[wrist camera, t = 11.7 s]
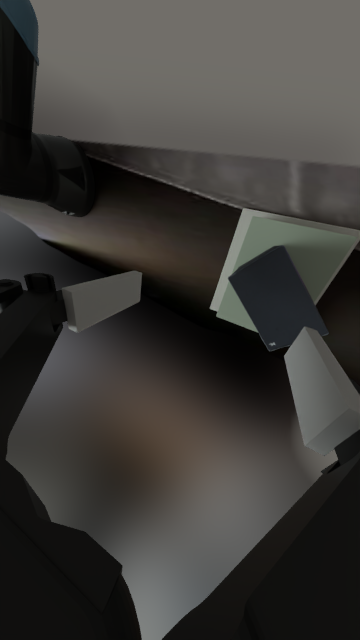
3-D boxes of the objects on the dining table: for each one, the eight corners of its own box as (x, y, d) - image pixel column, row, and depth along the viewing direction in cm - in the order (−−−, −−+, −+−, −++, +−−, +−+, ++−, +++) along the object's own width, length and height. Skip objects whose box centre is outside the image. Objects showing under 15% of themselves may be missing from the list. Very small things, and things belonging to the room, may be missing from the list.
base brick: (222, 306, 37) (216, 316, 32) (254, 220, 29) (252, 215, 24) (282, 328, 34) (286, 343, 29) (339, 238, 26) (357, 237, 21)
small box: (309, 304, 25) (334, 335, 17) (265, 321, 29) (267, 354, 20) (277, 242, 24) (286, 241, 15) (235, 268, 28) (224, 279, 19)
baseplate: (210, 307, 40) (209, 308, 39) (243, 209, 30) (243, 208, 29) (291, 337, 35) (292, 339, 34) (362, 231, 25) (365, 231, 24)
